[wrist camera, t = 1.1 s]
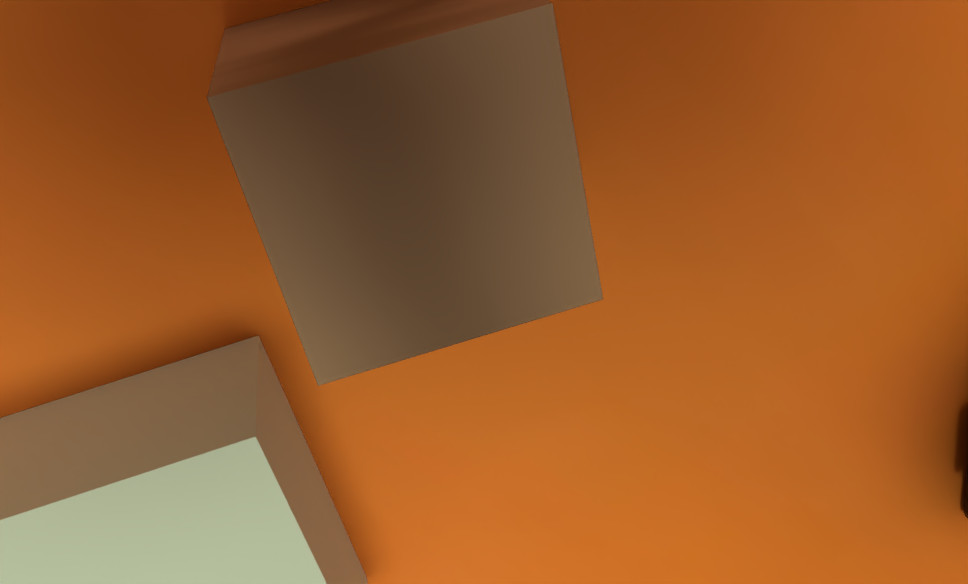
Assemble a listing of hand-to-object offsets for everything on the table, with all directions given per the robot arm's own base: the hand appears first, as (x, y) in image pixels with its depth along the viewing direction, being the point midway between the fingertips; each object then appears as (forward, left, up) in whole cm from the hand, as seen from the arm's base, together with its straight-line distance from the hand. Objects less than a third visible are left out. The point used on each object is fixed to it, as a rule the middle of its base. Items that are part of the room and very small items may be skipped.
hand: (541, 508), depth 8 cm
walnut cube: (0, 0, -12) cm, 12 cm away
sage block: (+8, +8, -12) cm, 16 cm away
